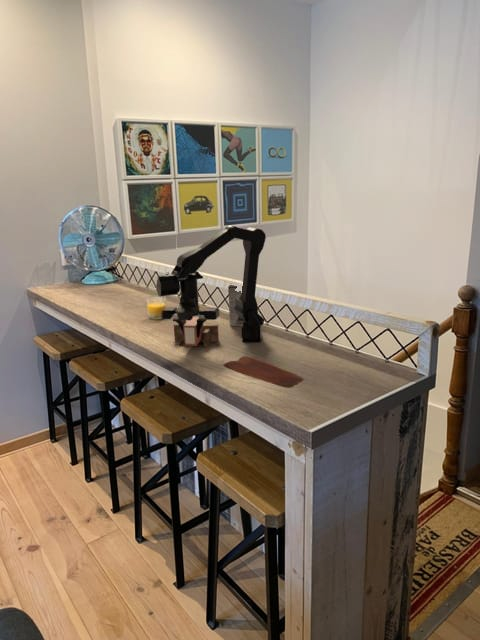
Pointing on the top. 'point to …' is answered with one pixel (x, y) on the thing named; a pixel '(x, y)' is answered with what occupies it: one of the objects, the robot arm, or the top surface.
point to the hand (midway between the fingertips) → (192, 337)
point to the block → (192, 332)
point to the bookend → (182, 343)
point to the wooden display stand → (208, 333)
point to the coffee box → (234, 318)
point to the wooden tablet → (264, 371)
